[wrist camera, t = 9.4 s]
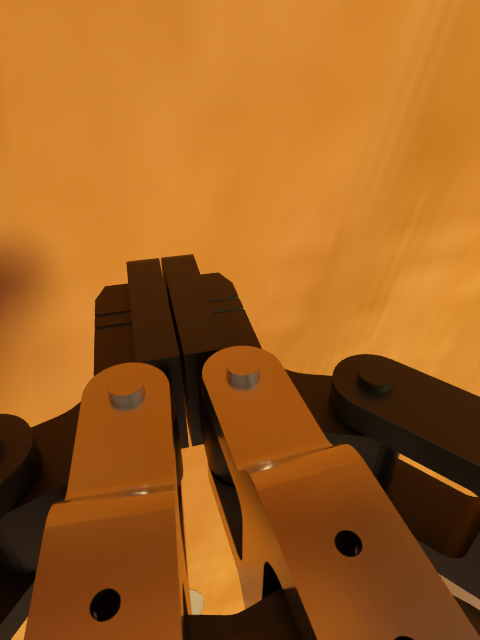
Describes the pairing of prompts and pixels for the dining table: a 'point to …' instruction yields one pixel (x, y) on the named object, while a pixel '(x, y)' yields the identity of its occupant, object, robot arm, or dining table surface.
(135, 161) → the dining table surface
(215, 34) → the dining table surface
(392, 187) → the dining table surface
